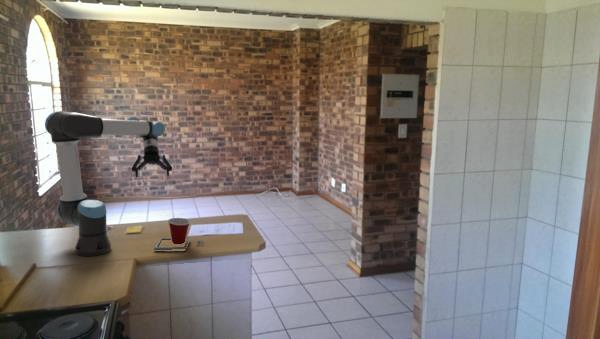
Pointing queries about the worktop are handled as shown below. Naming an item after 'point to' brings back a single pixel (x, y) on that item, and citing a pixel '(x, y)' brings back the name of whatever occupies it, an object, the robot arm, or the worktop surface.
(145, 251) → the worktop surface
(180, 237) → the plastic cup
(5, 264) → the worktop surface
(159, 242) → the tray
